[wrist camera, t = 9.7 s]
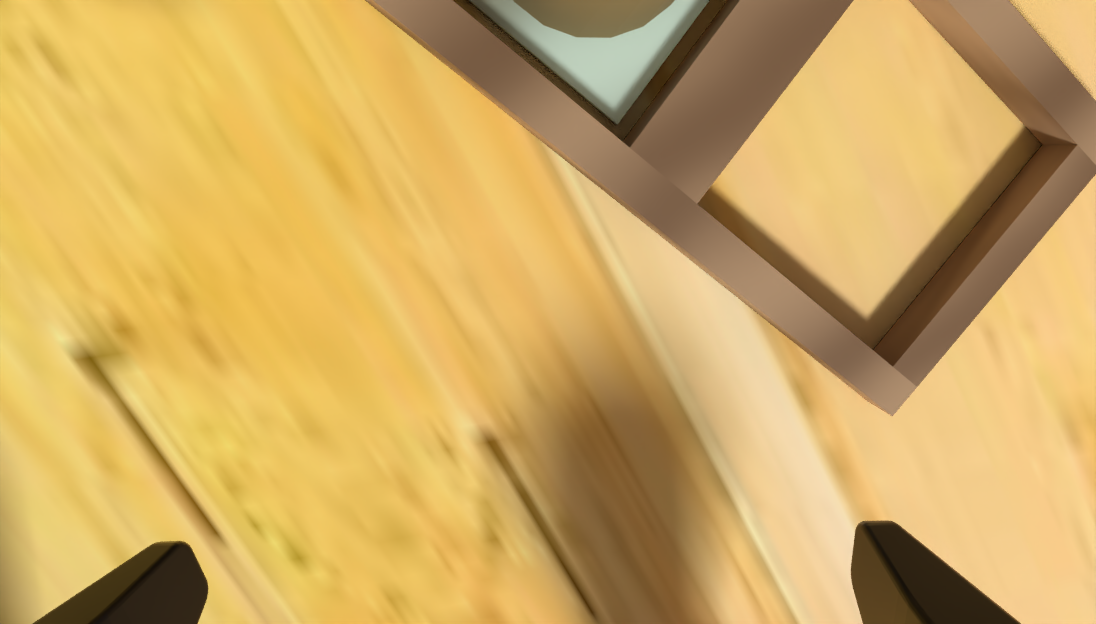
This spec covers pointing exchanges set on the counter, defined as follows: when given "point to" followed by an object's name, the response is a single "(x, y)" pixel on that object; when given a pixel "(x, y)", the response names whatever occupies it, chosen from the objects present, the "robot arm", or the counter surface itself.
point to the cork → (594, 15)
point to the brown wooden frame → (732, 115)
